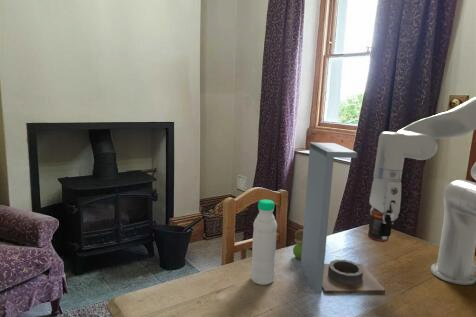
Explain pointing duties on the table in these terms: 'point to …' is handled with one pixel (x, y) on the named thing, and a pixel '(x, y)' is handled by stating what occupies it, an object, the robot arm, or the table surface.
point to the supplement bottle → (376, 226)
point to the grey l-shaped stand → (318, 209)
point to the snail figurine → (298, 243)
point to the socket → (348, 279)
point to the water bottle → (264, 244)
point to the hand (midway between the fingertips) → (379, 230)
